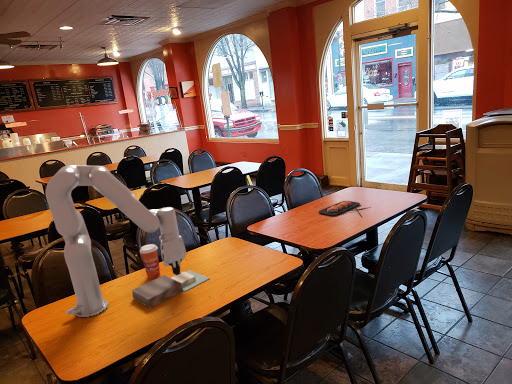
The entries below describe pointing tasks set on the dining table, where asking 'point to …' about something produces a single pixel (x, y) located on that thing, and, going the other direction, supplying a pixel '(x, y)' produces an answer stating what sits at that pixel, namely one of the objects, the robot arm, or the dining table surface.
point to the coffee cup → (150, 260)
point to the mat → (198, 280)
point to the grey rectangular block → (157, 291)
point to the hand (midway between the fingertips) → (177, 273)
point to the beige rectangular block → (184, 278)
